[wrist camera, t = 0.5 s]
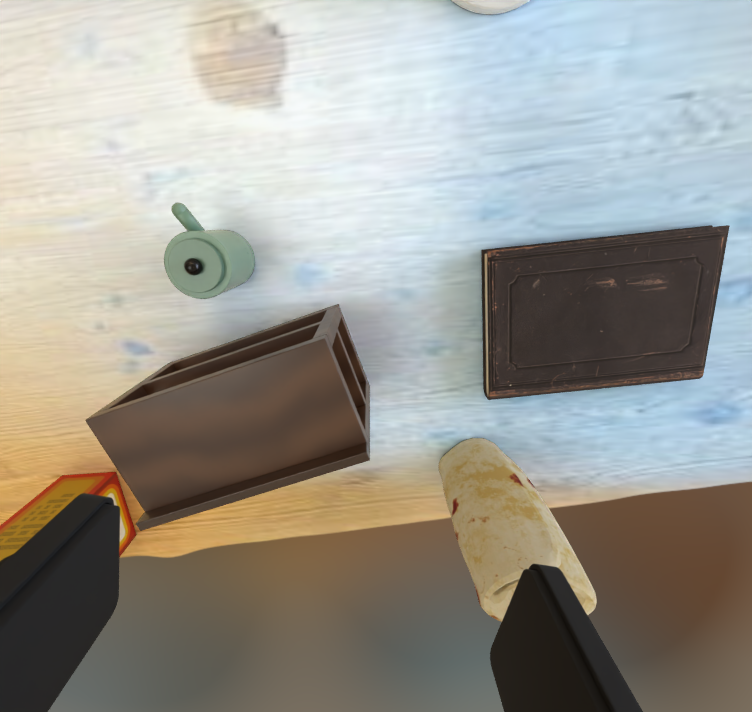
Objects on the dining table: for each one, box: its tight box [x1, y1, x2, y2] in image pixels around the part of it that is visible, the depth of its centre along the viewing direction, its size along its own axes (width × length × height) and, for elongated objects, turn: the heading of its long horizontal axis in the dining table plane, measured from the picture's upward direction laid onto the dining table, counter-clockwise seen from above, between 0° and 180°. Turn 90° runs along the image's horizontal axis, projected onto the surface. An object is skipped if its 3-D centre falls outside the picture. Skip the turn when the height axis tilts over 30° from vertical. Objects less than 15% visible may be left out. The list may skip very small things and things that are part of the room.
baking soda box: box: [0, 472, 136, 561], centre depth 41 cm, size 10×6×16 cm
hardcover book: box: [481, 226, 729, 400], centre depth 41 cm, size 16×23×2 cm
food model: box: [439, 438, 597, 622], centre depth 38 cm, size 10×7×20 cm
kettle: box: [164, 203, 255, 299], centre depth 35 cm, size 8×6×9 cm
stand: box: [86, 304, 370, 531], centre depth 36 cm, size 10×20×15 cm, turn 109°
